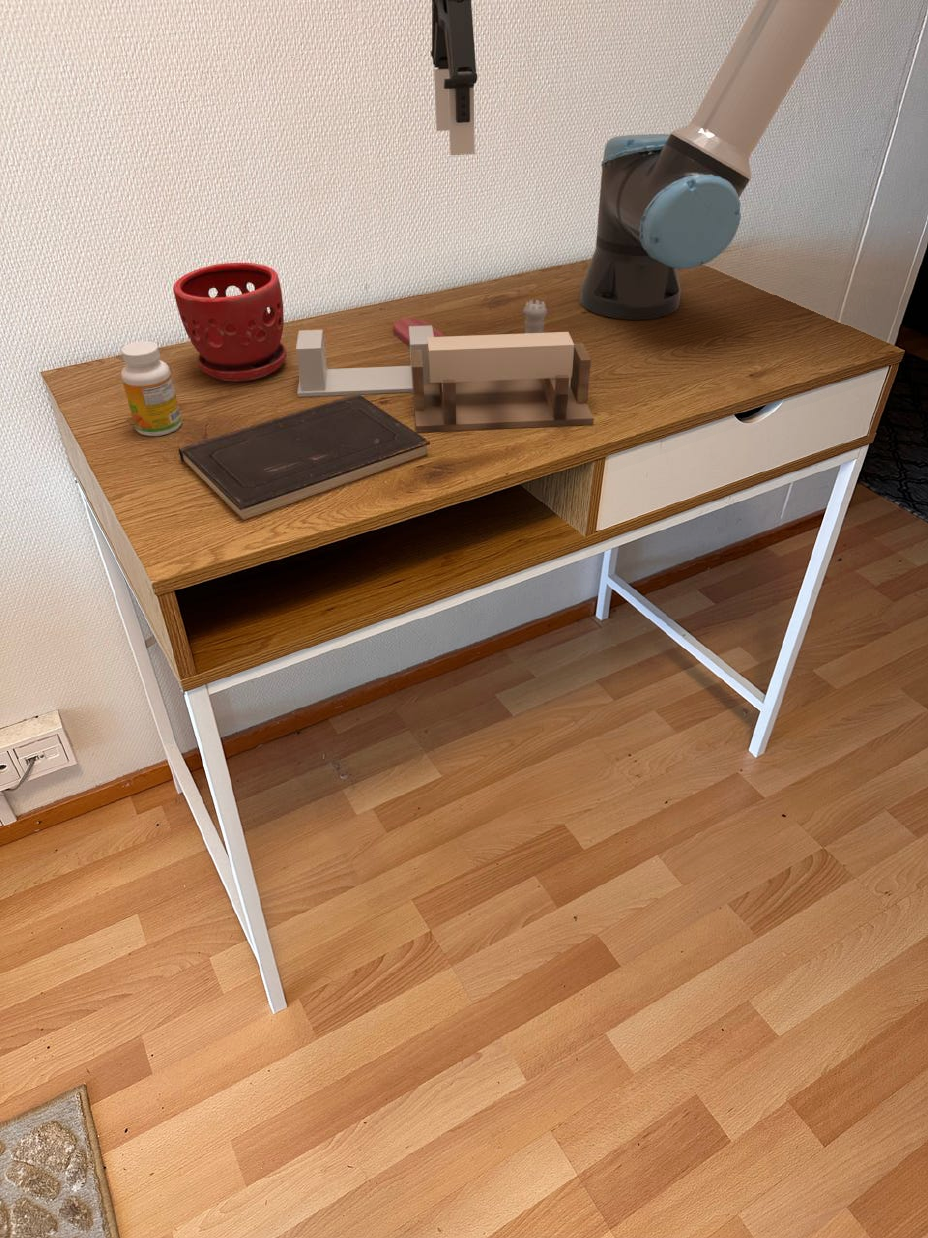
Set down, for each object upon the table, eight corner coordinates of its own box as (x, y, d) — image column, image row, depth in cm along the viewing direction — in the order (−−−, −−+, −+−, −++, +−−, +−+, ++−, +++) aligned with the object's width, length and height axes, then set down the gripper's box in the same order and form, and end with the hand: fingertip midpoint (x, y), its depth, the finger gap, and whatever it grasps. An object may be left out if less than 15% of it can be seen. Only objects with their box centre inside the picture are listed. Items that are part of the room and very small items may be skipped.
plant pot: (215, 346, 123) (198, 258, 116) (304, 352, 121) (293, 263, 114) (174, 385, 113) (153, 292, 106) (271, 393, 111) (256, 298, 104)
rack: (573, 378, 114) (577, 330, 110) (593, 424, 104) (597, 373, 100) (412, 385, 113) (409, 337, 109) (416, 432, 103) (414, 381, 99)
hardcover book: (430, 459, 99) (429, 441, 98) (243, 526, 89) (239, 507, 87) (357, 408, 109) (355, 391, 108) (181, 464, 99) (177, 445, 97)
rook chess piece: (524, 353, 120) (527, 295, 115) (554, 359, 119) (558, 300, 114) (510, 365, 117) (512, 306, 112) (541, 372, 116) (544, 311, 111)
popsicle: (432, 357, 117) (385, 321, 127) (432, 369, 118) (386, 331, 128) (467, 350, 119) (419, 314, 129) (467, 361, 120) (419, 325, 130)
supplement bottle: (130, 422, 105) (109, 344, 99) (175, 412, 107) (157, 335, 101) (141, 441, 102) (120, 360, 96) (187, 430, 104) (169, 351, 98)
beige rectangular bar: (566, 363, 108) (568, 331, 106) (571, 377, 105) (574, 344, 102) (428, 369, 107) (427, 337, 105) (430, 383, 104) (429, 350, 101)
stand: (436, 368, 117) (435, 323, 113) (440, 390, 112) (439, 344, 108) (301, 373, 116) (295, 329, 112) (297, 396, 110) (291, 350, 107)
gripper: (402, -88, 100) (413, 122, 114) (425, -85, 81) (435, 167, 95) (467, -90, 101) (470, 119, 114) (505, -88, 82) (503, 163, 95)
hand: (454, 141), depth 105 cm, fingers open, 13 cm apart
